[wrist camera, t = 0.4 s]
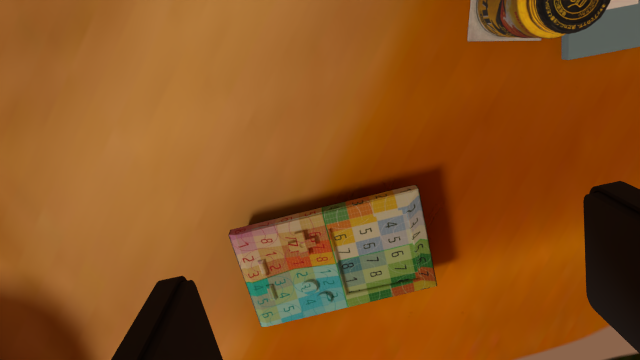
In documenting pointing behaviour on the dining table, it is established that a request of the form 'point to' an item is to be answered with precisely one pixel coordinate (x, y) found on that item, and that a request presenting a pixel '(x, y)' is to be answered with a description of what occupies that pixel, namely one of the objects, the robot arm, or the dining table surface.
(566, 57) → the board
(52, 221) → the dining table surface
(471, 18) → the condiment
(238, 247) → the puzzle game
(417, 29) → the dining table surface
